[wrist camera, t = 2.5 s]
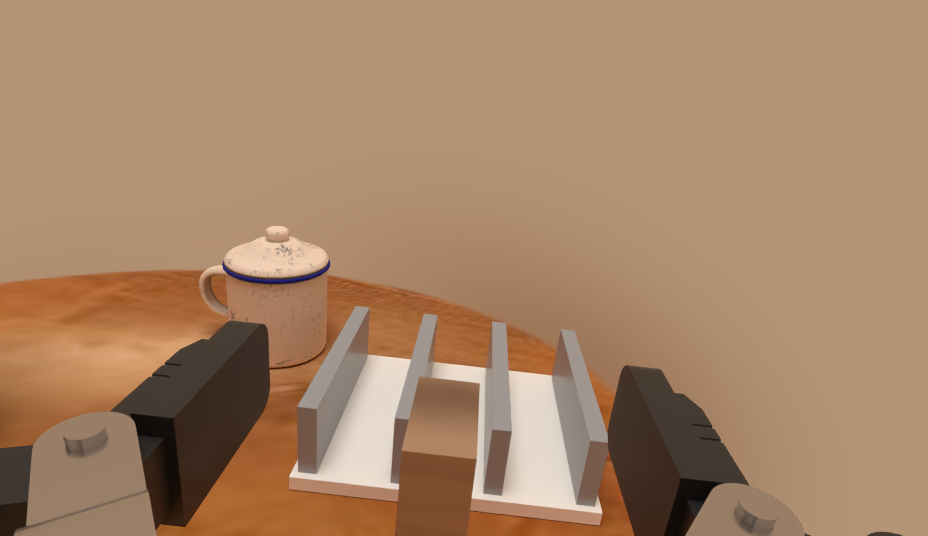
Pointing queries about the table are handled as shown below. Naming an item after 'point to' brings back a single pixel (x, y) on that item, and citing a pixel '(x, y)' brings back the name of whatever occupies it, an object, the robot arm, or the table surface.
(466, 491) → the walnut board
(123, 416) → the robot arm
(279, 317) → the teacup with lid
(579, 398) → the rack
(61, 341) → the table surface
